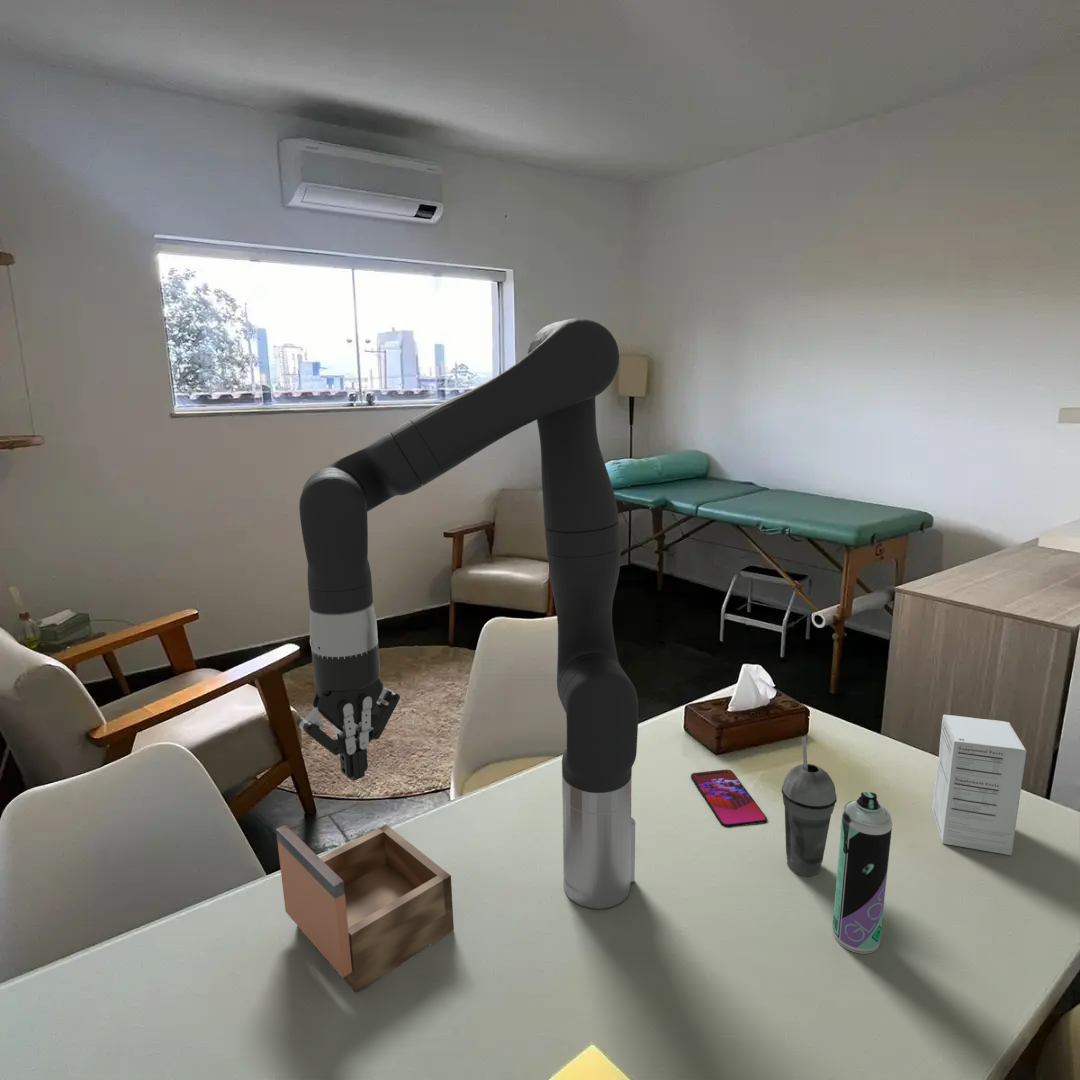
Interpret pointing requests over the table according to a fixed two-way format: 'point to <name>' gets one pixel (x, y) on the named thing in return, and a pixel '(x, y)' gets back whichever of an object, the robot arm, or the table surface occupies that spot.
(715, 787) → the smartphone
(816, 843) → the beverage cup
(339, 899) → the panel
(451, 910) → the box
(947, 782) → the supplement box
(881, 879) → the spray can
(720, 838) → the table surface
